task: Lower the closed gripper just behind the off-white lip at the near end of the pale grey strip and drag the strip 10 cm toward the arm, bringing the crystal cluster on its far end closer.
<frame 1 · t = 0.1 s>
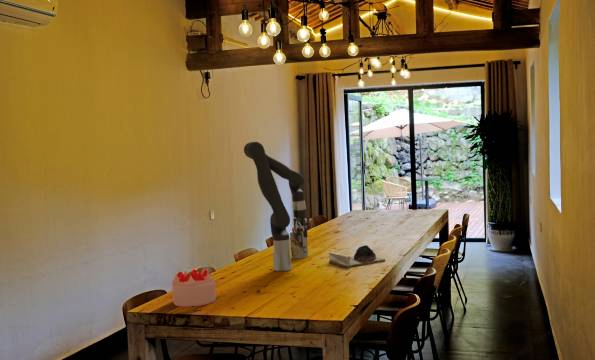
hand: (302, 236, 351), 17 cm above the table, tool pointing down, fingers open, 8 cm apart
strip: (356, 256, 352), point 3 cm above the table, slide at 0.9 cm, touching crystal cluster
crystal cluster: (365, 260, 355), resting on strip
coffee box: (300, 257, 382), on the table
cake: (195, 302, 283), on the table
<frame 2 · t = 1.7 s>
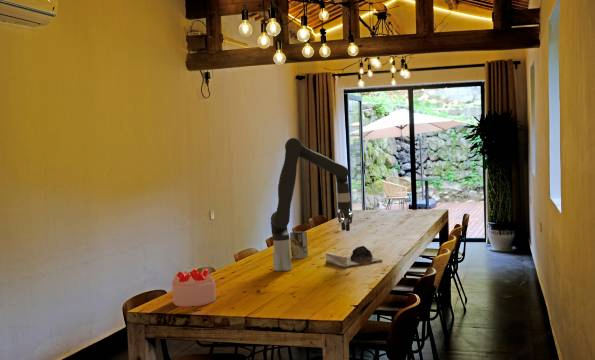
hand: (345, 230, 349), 19 cm above the table, tool pointing down, fingers open, 4 cm apart
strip: (353, 257, 351), point 3 cm above the table, slide at 3.1 cm, touching crystal cluster
crystal cluster: (362, 261, 353), resting on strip
everything else where it was.
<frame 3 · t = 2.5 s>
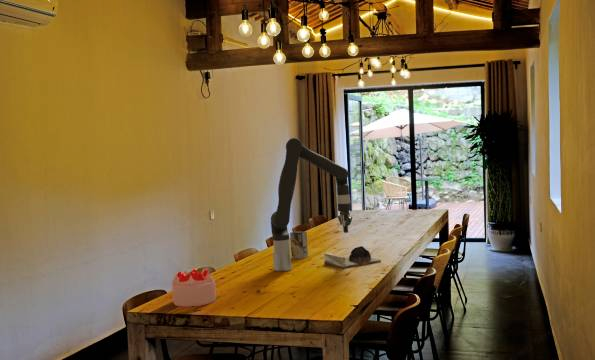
hand: (345, 232, 349), 18 cm above the table, tool pointing down, fingers closed
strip: (351, 257, 351), point 3 cm above the table, slide at 4.1 cm, touching crystal cluster
crystal cluster: (360, 261, 353), resting on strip
everything else where it was.
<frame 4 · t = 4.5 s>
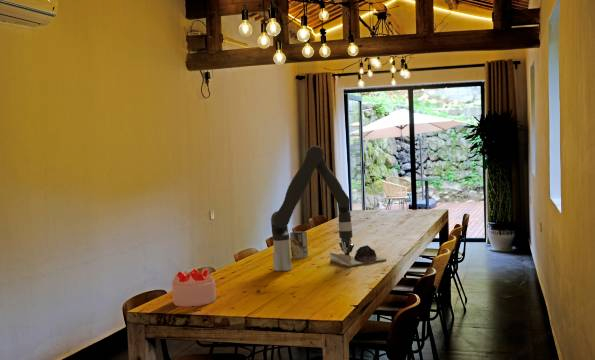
hand: (347, 259, 349), 2 cm above the table, tool pointing down, fingers closed
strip: (357, 256, 352), point 3 cm above the table, slide at 0.2 cm, touching crystal cluster
crystal cluster: (366, 261, 354), resting on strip
everything else where it was.
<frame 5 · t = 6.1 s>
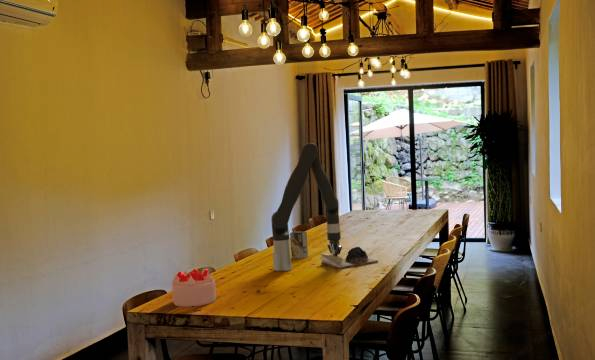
hand: (335, 261, 346), 2 cm above the table, tool pointing down, fingers closed
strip: (349, 258, 350), point 3 cm above the table, slide at 6.0 cm, touching crystal cluster
crystal cluster: (357, 262, 351), resting on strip
everything else where it was.
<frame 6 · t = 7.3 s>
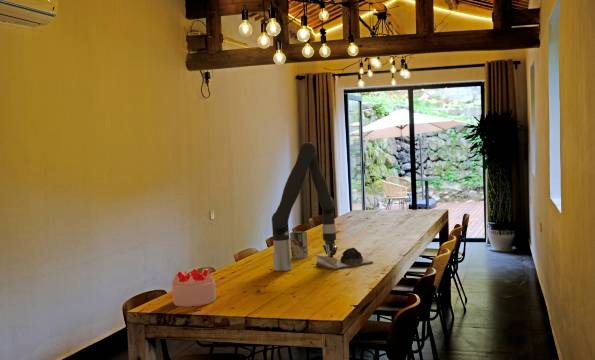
hand: (331, 262, 344), 2 cm above the table, tool pointing down, fingers closed
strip: (344, 258, 348), point 3 cm above the table, slide at 9.4 cm, touching crystal cluster
crystal cluster: (352, 263, 349), resting on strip
everything else where it was.
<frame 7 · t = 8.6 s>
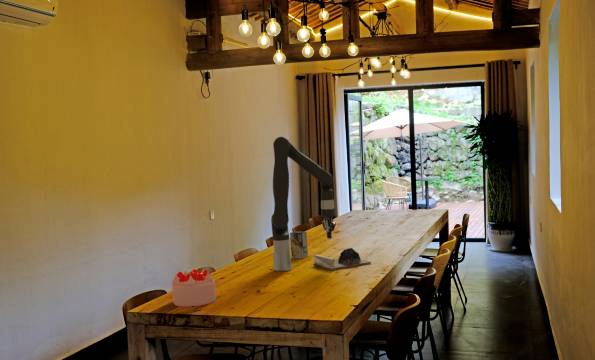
hand: (329, 238, 344), 16 cm above the table, tool pointing down, fingers closed
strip: (341, 259, 348), point 3 cm above the table, slide at 10.9 cm, touching crystal cluster
crystal cluster: (350, 264, 348), resting on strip
everything else where it was.
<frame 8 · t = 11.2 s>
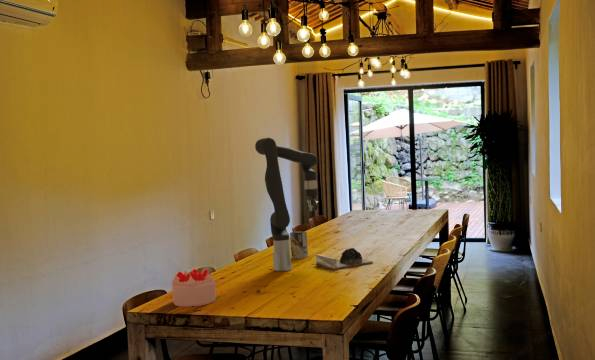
hand: (313, 217, 359), 27 cm above the table, tool pointing down, fingers closed
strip: (343, 258, 348), point 3 cm above the table, slide at 9.7 cm, touching crystal cluster
crystal cluster: (352, 263, 348), resting on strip
everything else where it was.
at the end: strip slide at 9.8 cm; crystal cluster inside the target area (0.7 cm from its centre), resting on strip; crystal cluster touching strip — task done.
